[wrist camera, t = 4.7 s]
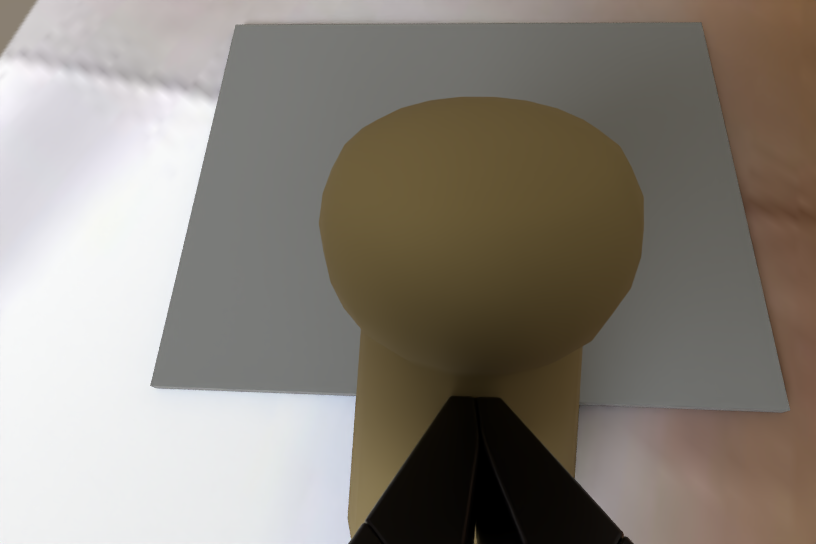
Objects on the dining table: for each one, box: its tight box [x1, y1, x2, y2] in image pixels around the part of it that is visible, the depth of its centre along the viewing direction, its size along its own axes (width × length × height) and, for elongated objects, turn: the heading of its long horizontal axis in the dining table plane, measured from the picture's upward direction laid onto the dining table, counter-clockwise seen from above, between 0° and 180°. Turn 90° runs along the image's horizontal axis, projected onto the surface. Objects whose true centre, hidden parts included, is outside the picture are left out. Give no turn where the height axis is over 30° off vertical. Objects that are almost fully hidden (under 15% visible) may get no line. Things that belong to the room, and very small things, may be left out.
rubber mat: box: [150, 22, 790, 413], centre depth 20 cm, size 16×20×1 cm
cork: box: [319, 97, 644, 544], centre depth 11 cm, size 6×6×11 cm
